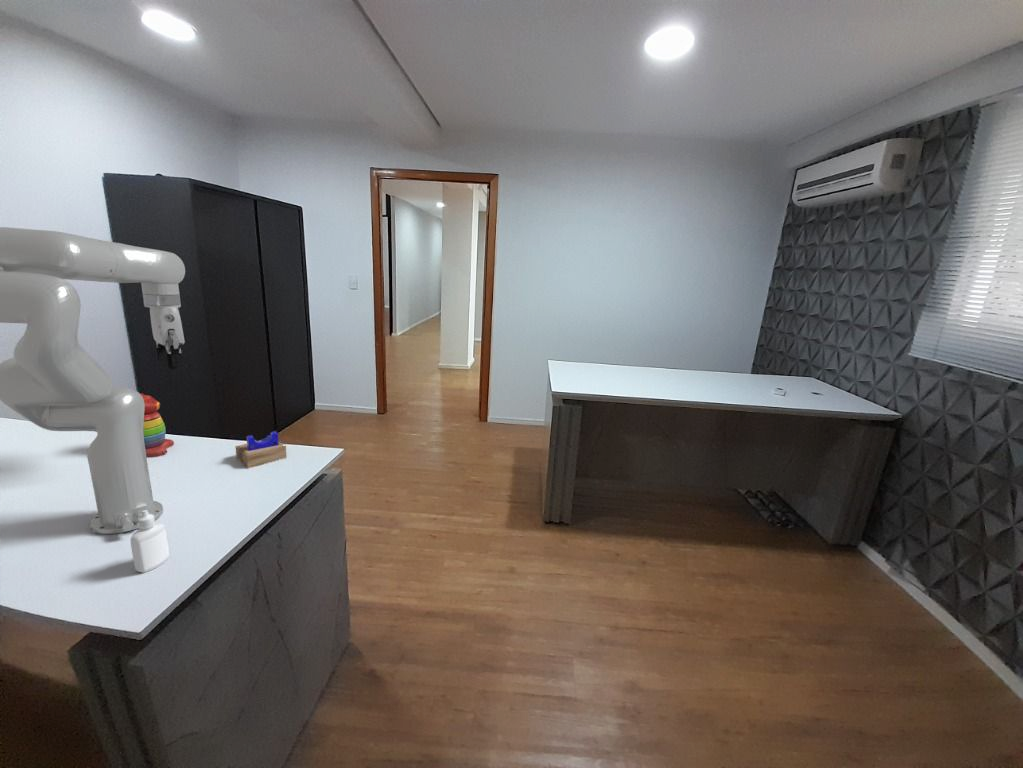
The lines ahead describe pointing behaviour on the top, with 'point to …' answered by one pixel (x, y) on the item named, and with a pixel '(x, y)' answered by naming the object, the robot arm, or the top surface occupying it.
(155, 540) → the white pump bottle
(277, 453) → the plinth
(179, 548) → the top surface
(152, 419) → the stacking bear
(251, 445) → the cable holder
